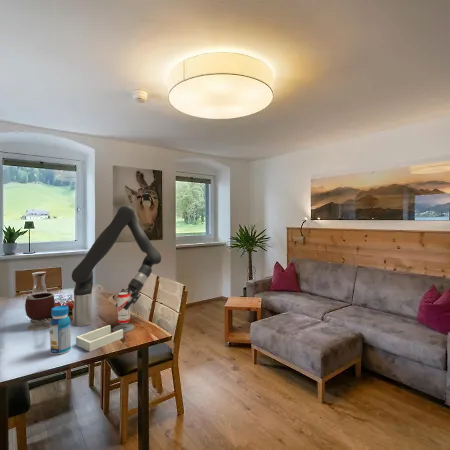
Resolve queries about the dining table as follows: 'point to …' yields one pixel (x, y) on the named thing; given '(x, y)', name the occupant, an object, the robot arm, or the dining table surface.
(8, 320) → the dining table surface
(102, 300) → the dining table surface
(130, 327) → the mat
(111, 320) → the dining table surface
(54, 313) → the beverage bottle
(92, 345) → the cream open tray
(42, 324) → the mate gourd
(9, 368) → the dining table surface
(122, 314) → the beer can
